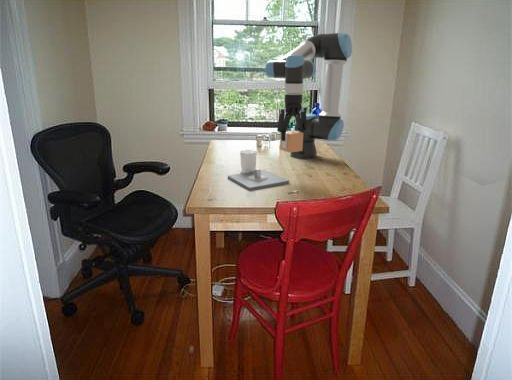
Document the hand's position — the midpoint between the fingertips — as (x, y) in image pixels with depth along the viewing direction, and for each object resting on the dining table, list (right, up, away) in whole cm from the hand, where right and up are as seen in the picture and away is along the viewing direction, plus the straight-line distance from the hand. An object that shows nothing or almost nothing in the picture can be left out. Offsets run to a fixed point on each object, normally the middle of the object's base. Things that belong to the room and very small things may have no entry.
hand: (291, 146), depth 161 cm
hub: (-15, -15, 0) cm, 21 cm away
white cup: (-20, -11, +14) cm, 26 cm away
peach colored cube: (0, -1, +1) cm, 2 cm away
